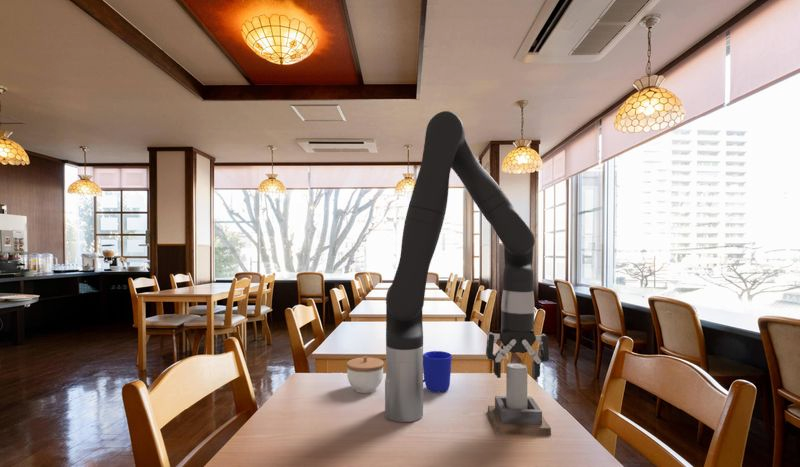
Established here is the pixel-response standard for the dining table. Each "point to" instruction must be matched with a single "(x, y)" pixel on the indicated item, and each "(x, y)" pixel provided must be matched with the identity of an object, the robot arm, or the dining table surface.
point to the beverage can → (516, 386)
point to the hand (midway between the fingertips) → (516, 377)
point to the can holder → (518, 418)
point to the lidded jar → (365, 373)
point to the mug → (437, 370)
